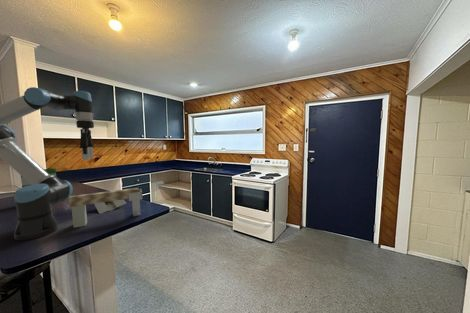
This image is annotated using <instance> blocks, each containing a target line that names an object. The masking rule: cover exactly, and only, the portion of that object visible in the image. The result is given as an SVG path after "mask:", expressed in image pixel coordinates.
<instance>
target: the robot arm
mask: <svg viewBox="0 0 470 313" xmlns="http://www.w3.org/2000/svg"><path fill="white" fill-rule="evenodd" d="M44 108H50V110H57V111H62V110H63V111H65V110H66V111H67V110H68V111H69V110H73V111H75V120H76V123H75V124H76V128H77V129H80V146H79V149H81V155H82V156H81V157H82V161H90V159H94V150H93V149H94V144H93V140H92V131H91V129H94V127H95V125H94V124H95V123H94V117H95V115H94V113H93V100H92V95H91V93H90V92H88V91H85V90H75V91H73V94H72V95H70V94H67V95H66V94H60V93H57V92H52V91H49V90H46V89H44V88H39V87H32V86H31V87H28V88H26V90H25V91H24V93H23V95H21V96H19V97H16V98H14V99H12V100H10V101H9V100H8V101H7V102H4V103H2V104H0V158H1V159H2V160H3V161H4V162H5V163H6V164H7V165H8V166H10V167H11V168H12V169H13V170H14V171H16V173H17V174H19V175H20V177H21V176H22V177H23V178H25V179H26V180H27V181H28V182H29V183H30V184H31V185H30V186H25V187H22V186H21V187H20V188H18V189H16V191H15V192H14V198H13V200H14V202H15V203H14V204H15V210H16V216H17V223H16V227H15V230H14V233H13V238H14V240H15V241H29V240H34V239H38V238H42V237H44V236H47V235H49V234H52V233H53V232H55V231H58V229H59V224H58V221H57V220H56V219H55V217H54V216H53V213H52V212H53V211H52V206H54V205H56V204H59V203H62V202H65V201H66V200H67V199H68V200H69V197H70V196H72V194H73V193H74V192H73V190H74V189H73V188H74V187H73V185H72V183H71V182H70V181H68V180H67V179H66V180H64V179H60V178H59V177H58V176H57V175H56V176H55V175H50V174H48V173H47V172H46V171H45V170H44V168H43V167H42V166H41V165H40V164H39V163H37V161H35V160H34V159H33V158H32V156H30V155H29V154H28V153H27V152H26V151H24V150H23V149H22V148H21V147H20V146H19V145H18V144H17V138H16V133H15V131H14V129H13V128H11V127H10V126H8V125H7V124H8V123H11V122H13V121H16V120H18V119H20V118H22V117H25V116H27V115H29V114H32V113H34V112H36V111H39V110H42V109H44Z"/></svg>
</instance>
